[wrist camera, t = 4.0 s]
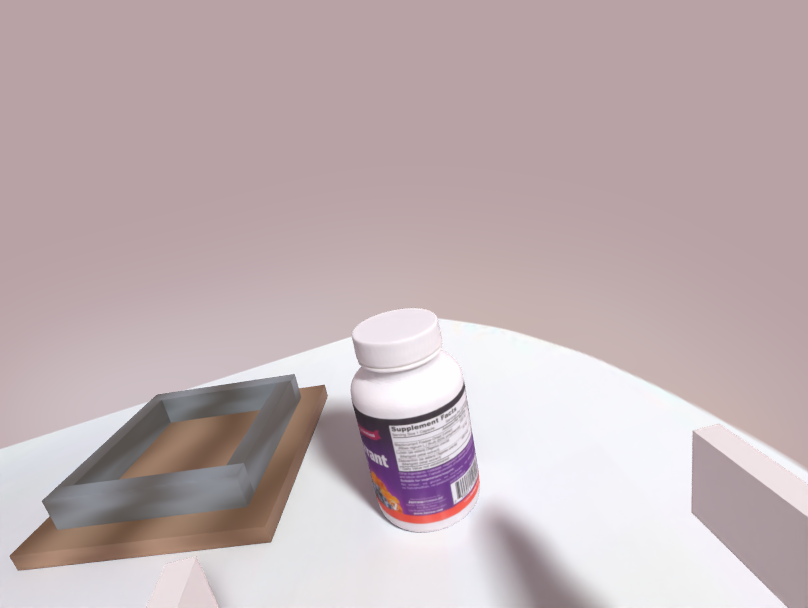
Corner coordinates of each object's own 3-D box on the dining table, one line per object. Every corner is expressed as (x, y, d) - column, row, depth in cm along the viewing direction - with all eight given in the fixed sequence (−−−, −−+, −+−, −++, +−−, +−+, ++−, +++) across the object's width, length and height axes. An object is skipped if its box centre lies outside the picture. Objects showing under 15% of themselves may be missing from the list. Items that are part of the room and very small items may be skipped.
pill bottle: (372, 476, 26) (332, 319, 23) (461, 449, 26) (434, 294, 23) (388, 551, 21) (340, 362, 18) (498, 516, 21) (470, 329, 18)
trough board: (18, 570, 24) (-9, 526, 23) (163, 419, 37) (149, 387, 36) (271, 541, 22) (253, 493, 21) (327, 395, 36) (318, 362, 35)
